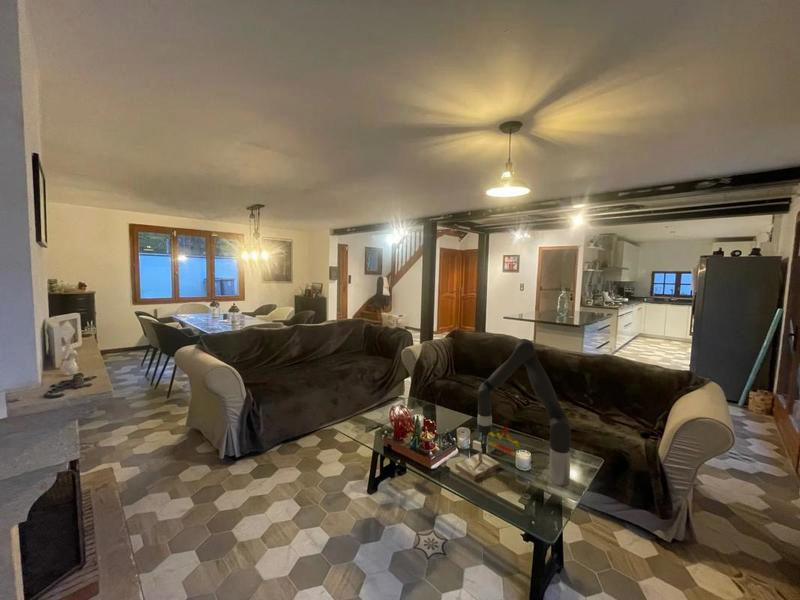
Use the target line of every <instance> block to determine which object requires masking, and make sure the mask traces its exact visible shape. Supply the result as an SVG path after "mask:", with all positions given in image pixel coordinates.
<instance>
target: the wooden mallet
mask: <svg viewBox="0 0 800 600" xmlns="http://www.w3.org/2000/svg"><path fill="white" fill-rule="evenodd" d="M472 449H473V450H476V451H478V453H479V460H478V463H477V464H476V465H475V466H474V467H473V468H472V469H474V468H475V467H476V466H477V465H478V464H479V463H482V462H483V460H482V448H481V441H479V440H475V439H474V440H473V441H472ZM488 452H489V445H487V448H486V454H488Z"/></svg>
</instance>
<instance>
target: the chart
mask: <svg viewBox="0 0 800 600" xmlns="http://www.w3.org/2000/svg"><path fill="white" fill-rule="evenodd" d="M478 434H479V437H478V442H481V438H480V435H481V432H478ZM504 435H505V437H506V439H507V440H508V441H509V442H510V443H512V444H515V447H516V449H517V451H515V450H513V449H511V448H508V447H506V446H504V445H502V444H499V443H498V442H495V441H493V440H490V439H489V438H488V444H487V445H488V446H490V447H492V448H494V449H496V450H499V451H501V452H503V453H505V454H507V455H509V456H511V457H514V458H516V457H515V452H518V451H519V450H521V451H522V448H521V446H520V444H519V441H518V440H514V439H513V438H512V437H511V436H510V433H509V431H508V427H507V426H504V427H503V429H502V432H501V434H500V432H497V433H496V434H494V432H493V431H491V432H490V433H489V436H491V437H492V438H495V437H496V436H497V438H498V440H502V439H503V437H504Z"/></svg>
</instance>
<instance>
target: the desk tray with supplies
mask: <svg viewBox="0 0 800 600" xmlns="http://www.w3.org/2000/svg"><path fill="white" fill-rule="evenodd" d="M478 460H479V452H477V453H475V454H473V455H471V456H469V457H467V458H465V459H463V460H460V461H458V462H456V463H455V466H454V467H455V469H456V470H457V471H459V472H460V473H462V474H463V475H465V476H466V477H468V478H469V479H470V480H472V481H473V482H476V481H477V480H479V479H481V478H483V477H485V476H487V475H490V473H492V472H494V471H496V470H498V469H500V468H501V463H500V461H497V460H496V459H494V458H492V457H491V456H489V455H487V454H486V455H484V454H482V460H483V462H482V463H479V464H478V465H477V466H476V467H475V468H474V469H472V468H473V467H474V466H475V465H476V464H477V463H478Z"/></svg>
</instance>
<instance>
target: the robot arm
mask: <svg viewBox="0 0 800 600" xmlns="http://www.w3.org/2000/svg"><path fill="white" fill-rule="evenodd" d="M521 365H524V366H525V368H526V373H527V377H528V380H529V381H530V382H529V383H530V385H531V388H532V389H533V391H534V393H535V396H536V398H537V399H538V400H539V401H540V403H541V404H542V405H543V407H544V409H545V410H546V413H547V415H548V419H549V423H550V427H549V469H548V471H549V472H548V473H549V474H548V480H549V481H550V482H551V483H552V484H554V485H556V486H561V487H564V486H567V485H570V480H571V479H570V478H571V477H570V476H571V462H570V457H571V441H572V440H571V437H572V435H571V434H572V432H571V431H572V429H571V423H570V420H569V418H568V416H567V415H566V413H565V412H564V410H563V409H562V407H561V404H560V402H559V399H558V395H557V394H556V391H555V389H554V387H553V384H552V382H551V380H550V378H549V376H548V374H547V372H546V371H545V369H544V367H543V366H542V364H541V362H540V361H539V358H538V355H537V352H536V349H535V345H534V343H533V342H532V341H531V340H530V339H526V338H521V339H519V340H518V341H517V342H516V343H515V347H514V351H513V352H512V354H511V355H510V356H509V358H508V359H507V360H506V361H505V362H504V363H502V364H501V365H500V366H499V367H498V368H496V369H495V370H494V371H493V372H492V374H491V375H490V376H489V377H488V378H487V379H485V381H483V382H482V383H481V384H480V386H478V390H477V418H476V419H477V425H476V426H477V427H476V428H477V431H478V433H481V435H479V437H480V438H481V441H480V442H481V448H482V454H484V455H487V453H486V448H487V444H488V439H489V436H490V435H489V433H490V432H493V431H492V430H493V425H492V424H493V417H492V393H493V392H494V391H495V390H496V389H499V388H500V387H501V386H502V385H503V384H504V383H505V382H506V381H507V380H508V379H509V378H510V376H511V375H512V374H513V373H514V372H515V371H516V370H517V369H518V368H519V367H520V366H521Z"/></svg>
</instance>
